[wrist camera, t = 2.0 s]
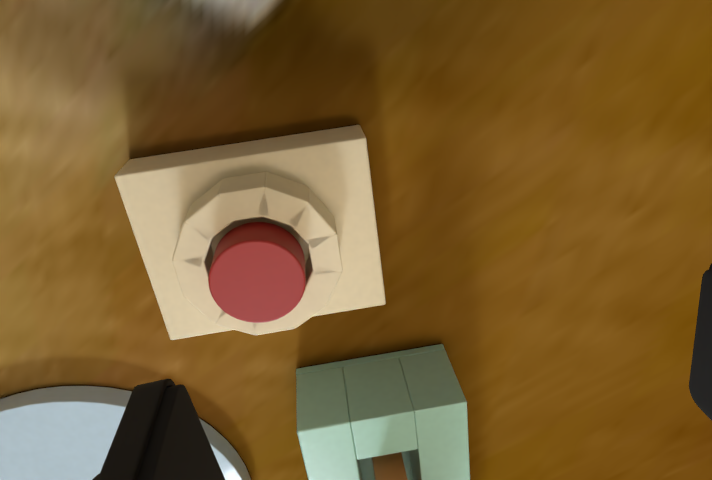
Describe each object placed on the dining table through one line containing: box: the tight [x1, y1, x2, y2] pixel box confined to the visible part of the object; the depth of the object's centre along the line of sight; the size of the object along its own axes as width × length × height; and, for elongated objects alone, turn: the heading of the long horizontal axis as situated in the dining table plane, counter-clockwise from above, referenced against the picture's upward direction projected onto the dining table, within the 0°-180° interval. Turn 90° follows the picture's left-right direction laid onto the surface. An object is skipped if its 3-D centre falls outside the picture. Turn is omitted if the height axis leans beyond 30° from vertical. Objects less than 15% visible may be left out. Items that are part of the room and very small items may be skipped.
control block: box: [115, 125, 386, 340], centre depth 23 cm, size 10×8×4 cm
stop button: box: [208, 222, 306, 323], centre depth 21 cm, size 4×4×2 cm
